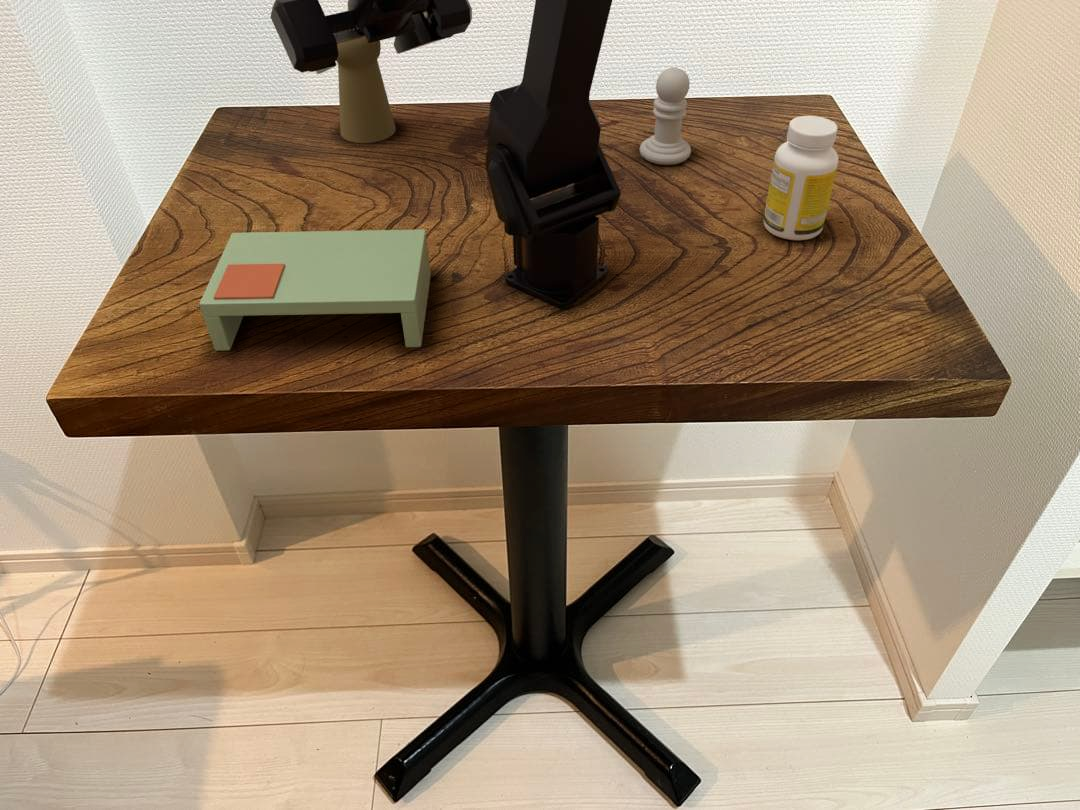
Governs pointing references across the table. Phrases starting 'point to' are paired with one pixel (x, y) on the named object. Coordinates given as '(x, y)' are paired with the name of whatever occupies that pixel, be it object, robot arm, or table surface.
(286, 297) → the shelf
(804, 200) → the supplement bottle
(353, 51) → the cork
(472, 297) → the table surface
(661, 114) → the chess piece
